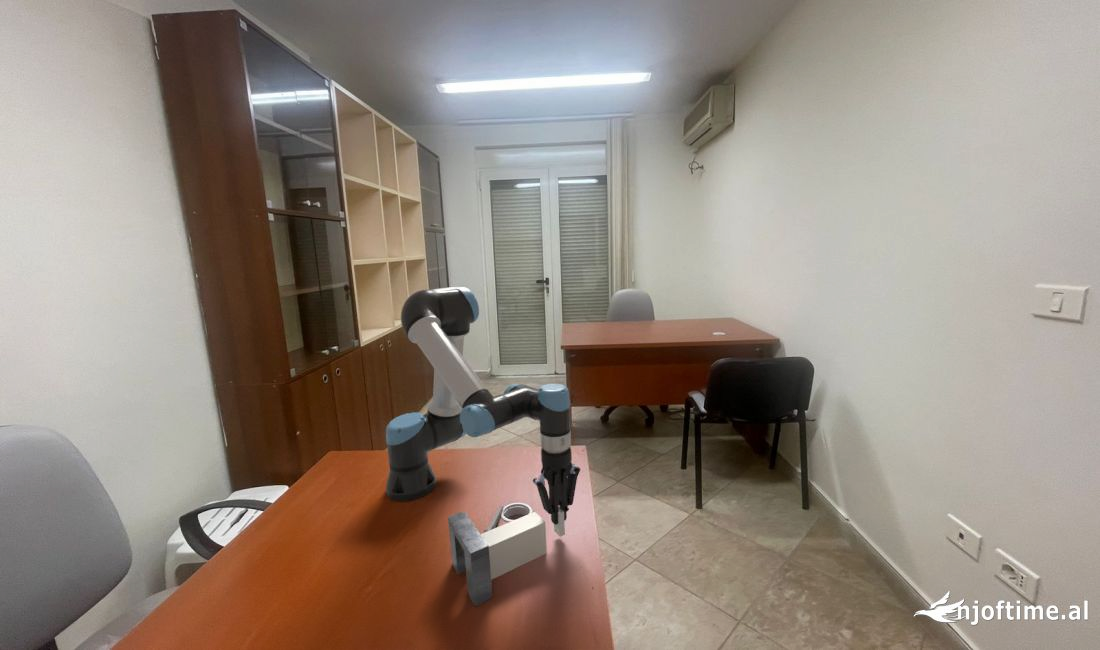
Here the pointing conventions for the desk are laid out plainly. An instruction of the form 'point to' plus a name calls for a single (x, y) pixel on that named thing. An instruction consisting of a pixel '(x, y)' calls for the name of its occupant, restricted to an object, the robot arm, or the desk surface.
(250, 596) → the desk surface
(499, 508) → the caliper
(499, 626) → the desk surface
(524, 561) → the plug
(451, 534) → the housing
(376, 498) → the desk surface
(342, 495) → the desk surface
